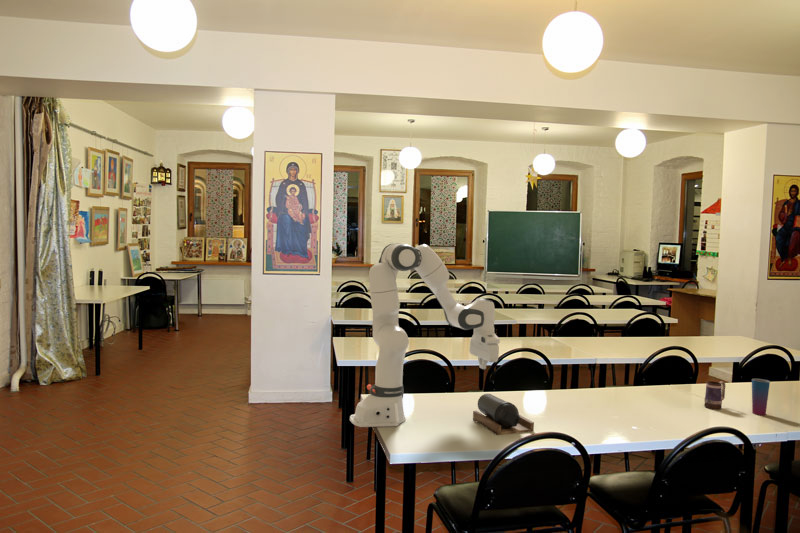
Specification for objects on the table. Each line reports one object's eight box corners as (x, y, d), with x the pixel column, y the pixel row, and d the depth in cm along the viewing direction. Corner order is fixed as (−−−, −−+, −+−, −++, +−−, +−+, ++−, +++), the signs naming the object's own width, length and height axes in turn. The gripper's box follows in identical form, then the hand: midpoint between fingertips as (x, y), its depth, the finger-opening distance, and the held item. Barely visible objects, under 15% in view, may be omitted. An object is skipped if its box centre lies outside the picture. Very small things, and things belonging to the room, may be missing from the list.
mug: (713, 410, 258) (714, 384, 258) (700, 406, 265) (701, 380, 264) (730, 408, 262) (731, 382, 261) (717, 404, 268) (718, 379, 268)
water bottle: (491, 419, 241) (515, 435, 218) (471, 409, 239) (493, 424, 216) (502, 398, 242) (527, 411, 220) (482, 387, 240) (505, 400, 217)
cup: (766, 412, 256) (768, 379, 256) (769, 416, 250) (771, 383, 250) (749, 410, 259) (750, 378, 259) (751, 414, 253) (752, 381, 252)
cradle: (497, 435, 216) (497, 426, 216) (472, 419, 235) (473, 411, 235) (533, 431, 222) (533, 422, 222) (507, 416, 241) (507, 408, 241)
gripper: (466, 332, 253) (465, 363, 253) (488, 340, 233) (487, 374, 234) (479, 332, 255) (478, 363, 255) (501, 340, 236) (500, 373, 236)
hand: (482, 368), depth 245 cm, fingers closed
